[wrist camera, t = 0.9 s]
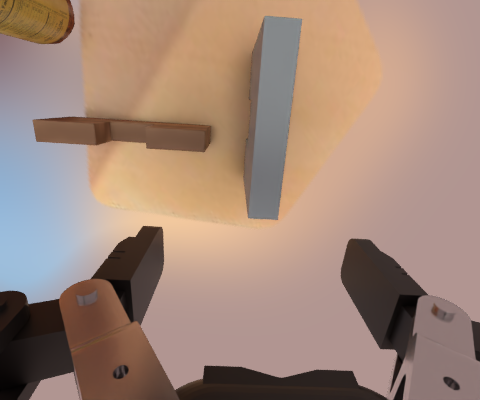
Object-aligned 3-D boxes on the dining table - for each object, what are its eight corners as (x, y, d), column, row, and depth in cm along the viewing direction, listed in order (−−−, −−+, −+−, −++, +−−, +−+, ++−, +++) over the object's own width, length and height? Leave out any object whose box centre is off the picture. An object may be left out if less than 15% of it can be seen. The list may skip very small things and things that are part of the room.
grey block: (252, 52, 29) (264, 15, 17) (274, 54, 30) (302, 18, 17) (243, 177, 34) (248, 218, 22) (262, 178, 34) (277, 219, 22)
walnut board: (72, 116, 31) (32, 119, 25) (210, 125, 32) (204, 131, 26) (74, 134, 32) (36, 141, 26) (210, 142, 33) (204, 151, 26)
